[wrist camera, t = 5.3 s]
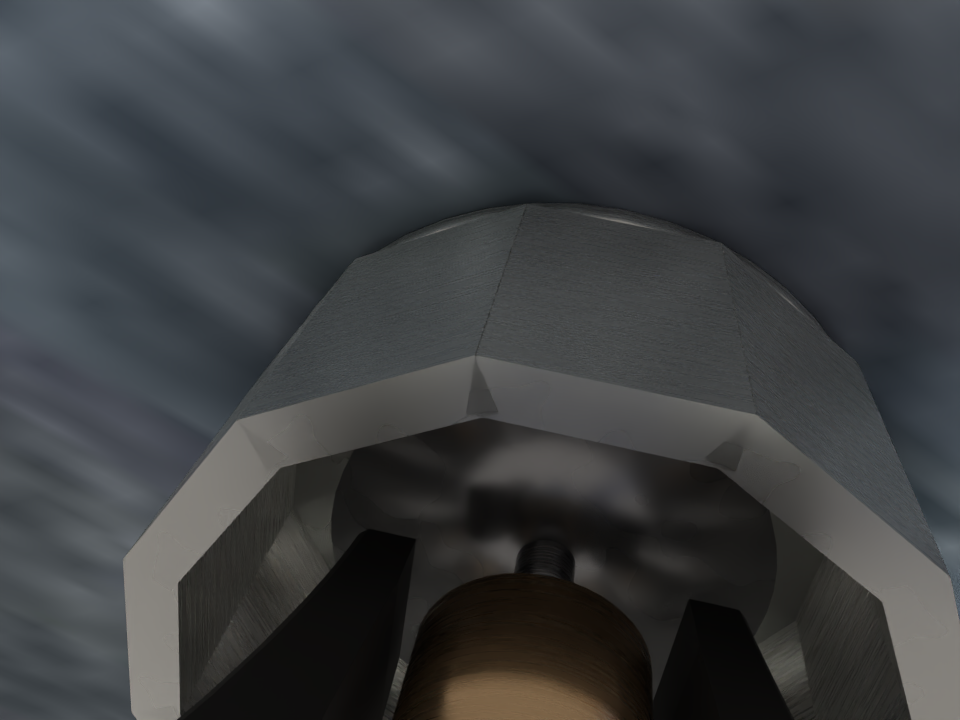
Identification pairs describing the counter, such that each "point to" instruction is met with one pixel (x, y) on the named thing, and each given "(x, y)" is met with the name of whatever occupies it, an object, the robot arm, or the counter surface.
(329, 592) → the robot arm
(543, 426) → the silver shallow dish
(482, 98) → the counter surface
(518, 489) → the plunger
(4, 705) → the counter surface
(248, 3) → the counter surface
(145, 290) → the counter surface
